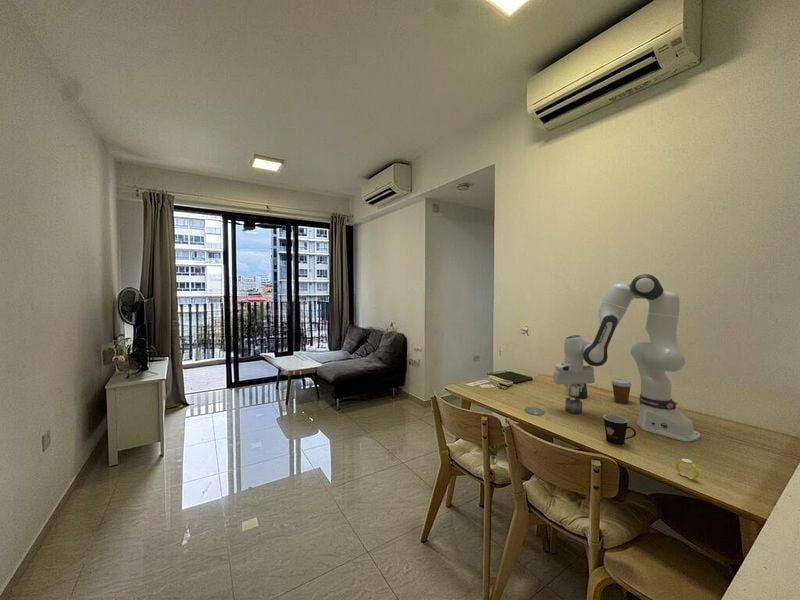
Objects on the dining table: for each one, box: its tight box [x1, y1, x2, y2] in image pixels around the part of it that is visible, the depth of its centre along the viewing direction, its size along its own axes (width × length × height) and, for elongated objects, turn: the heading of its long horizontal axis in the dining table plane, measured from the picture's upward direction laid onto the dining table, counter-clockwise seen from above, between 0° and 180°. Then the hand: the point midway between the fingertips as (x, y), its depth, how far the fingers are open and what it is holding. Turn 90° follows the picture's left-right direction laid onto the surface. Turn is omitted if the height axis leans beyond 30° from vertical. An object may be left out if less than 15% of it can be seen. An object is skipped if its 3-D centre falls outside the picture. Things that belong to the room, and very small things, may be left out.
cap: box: [568, 384, 579, 397], centre depth 168 cm, size 5×4×5 cm
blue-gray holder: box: [564, 397, 583, 415], centre depth 169 cm, size 8×8×6 cm
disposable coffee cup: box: [611, 378, 632, 405], centre depth 181 cm, size 10×10×12 cm
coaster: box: [524, 406, 546, 416], centre depth 170 cm, size 10×10×1 cm
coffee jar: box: [568, 384, 588, 399], centre depth 192 cm, size 10×8×19 cm
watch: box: [675, 458, 700, 480], centre depth 110 cm, size 6×3×6 cm, turn 24°
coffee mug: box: [602, 414, 637, 446], centre depth 134 cm, size 12×9×10 cm
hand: (574, 391), depth 168 cm, fingers closed on cap, 4 cm apart
